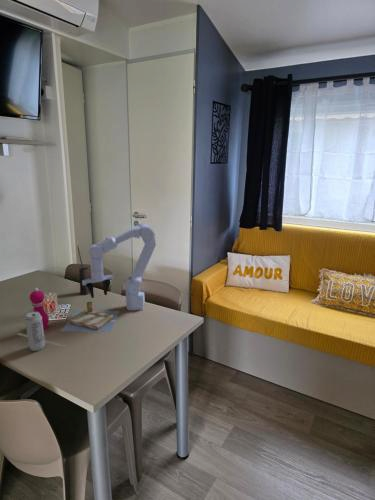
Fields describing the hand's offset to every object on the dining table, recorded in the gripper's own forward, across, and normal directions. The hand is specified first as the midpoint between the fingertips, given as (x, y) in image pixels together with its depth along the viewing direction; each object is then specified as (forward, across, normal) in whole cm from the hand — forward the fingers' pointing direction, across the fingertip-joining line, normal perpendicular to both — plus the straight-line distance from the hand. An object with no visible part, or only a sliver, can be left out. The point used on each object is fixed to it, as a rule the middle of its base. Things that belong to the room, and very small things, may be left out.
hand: (98, 295), depth 164 cm
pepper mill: (+10, +28, +1) cm, 29 cm away
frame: (+9, +6, +7) cm, 13 cm away
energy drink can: (+10, +32, +16) cm, 37 cm away
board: (+9, +6, +7) cm, 13 cm away
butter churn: (+10, -2, -29) cm, 31 cm away
